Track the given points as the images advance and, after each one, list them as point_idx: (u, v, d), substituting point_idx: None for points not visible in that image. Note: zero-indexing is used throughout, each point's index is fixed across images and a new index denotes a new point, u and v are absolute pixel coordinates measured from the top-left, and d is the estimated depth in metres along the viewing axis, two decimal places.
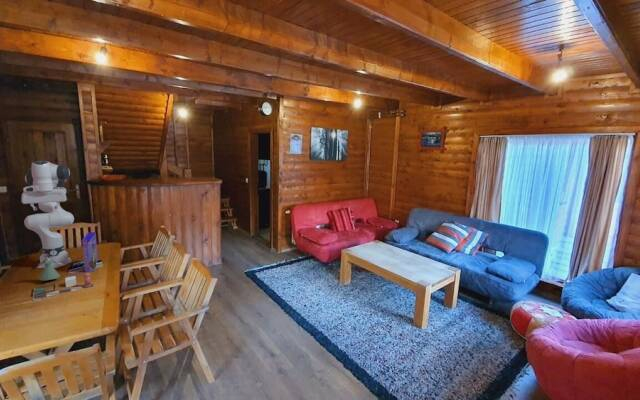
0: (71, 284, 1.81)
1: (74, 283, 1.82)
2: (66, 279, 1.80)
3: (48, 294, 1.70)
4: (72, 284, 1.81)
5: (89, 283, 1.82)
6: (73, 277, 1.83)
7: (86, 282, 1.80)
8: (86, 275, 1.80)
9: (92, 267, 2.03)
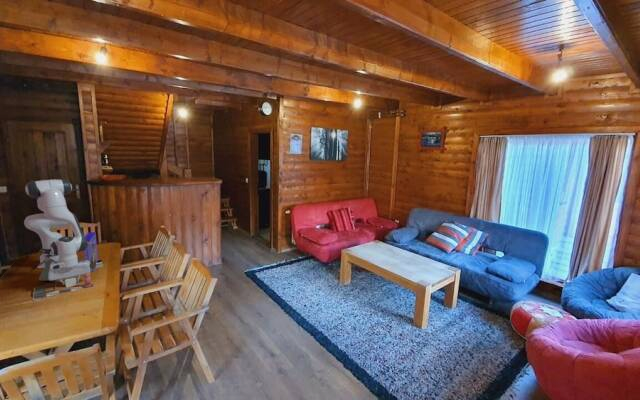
0: (71, 284, 1.81)
1: (74, 283, 1.82)
2: (66, 279, 1.80)
3: (48, 294, 1.70)
4: (72, 284, 1.81)
5: (89, 283, 1.82)
6: (73, 277, 1.83)
7: (86, 282, 1.80)
8: (86, 275, 1.80)
9: (92, 267, 2.03)
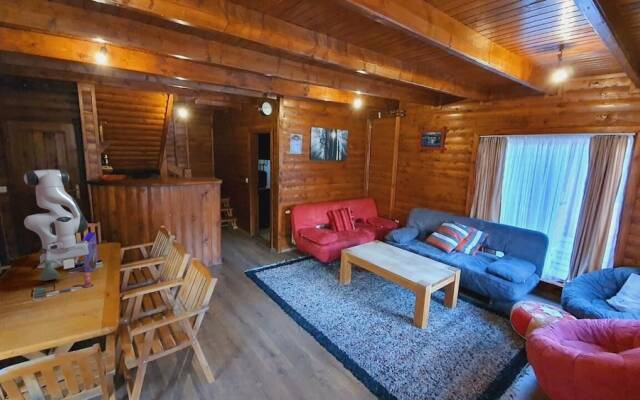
0: (69, 265, 1.79)
1: (72, 264, 1.80)
2: (64, 260, 1.78)
3: (48, 294, 1.70)
4: (70, 265, 1.79)
5: (89, 283, 1.82)
6: (71, 258, 1.81)
7: (86, 282, 1.80)
8: (86, 275, 1.80)
9: (92, 267, 2.03)
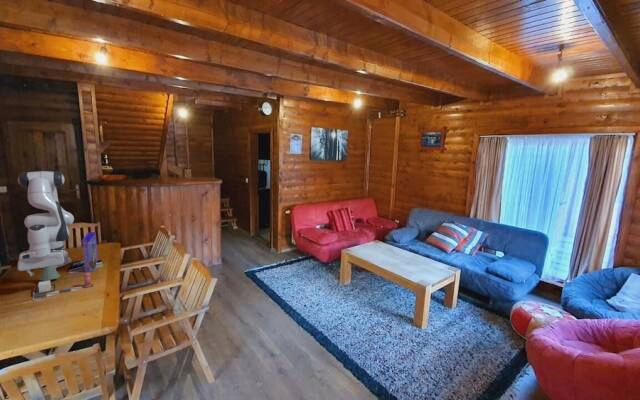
0: (45, 289, 1.73)
1: (48, 288, 1.74)
2: (39, 284, 1.72)
3: (48, 294, 1.70)
4: (46, 289, 1.73)
5: (89, 283, 1.82)
6: (47, 281, 1.75)
7: (86, 282, 1.80)
8: (86, 275, 1.80)
9: (92, 267, 2.03)
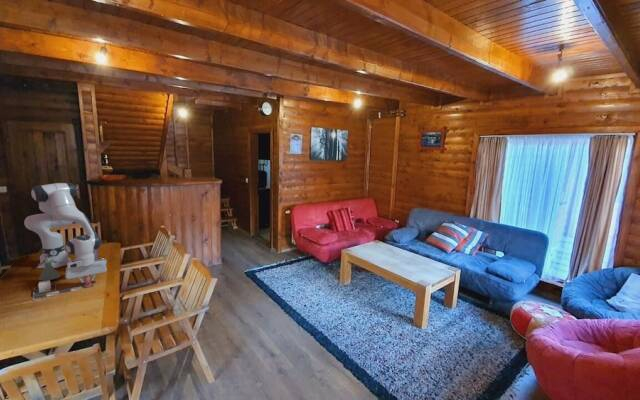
0: (45, 289, 1.73)
1: (48, 288, 1.74)
2: (39, 284, 1.72)
3: (48, 294, 1.70)
4: (46, 289, 1.73)
5: (89, 283, 1.82)
6: (47, 281, 1.75)
7: (86, 282, 1.80)
8: None
9: None
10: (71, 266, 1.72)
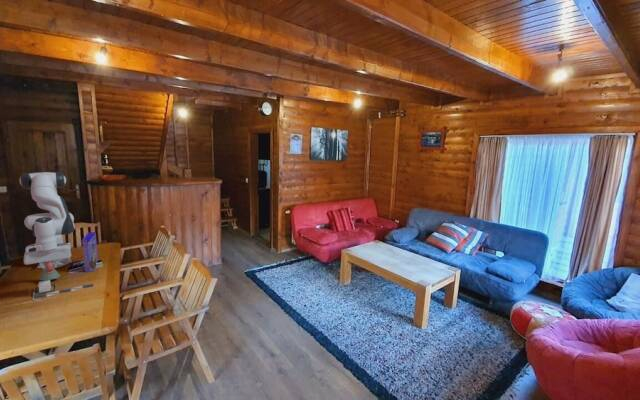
0: (45, 289, 1.73)
1: (48, 288, 1.74)
2: (39, 284, 1.72)
3: (48, 294, 1.70)
4: (46, 289, 1.73)
5: (51, 269, 1.68)
6: (47, 281, 1.75)
7: (48, 268, 1.67)
8: (48, 261, 1.66)
9: (92, 267, 2.03)
10: (30, 250, 1.59)
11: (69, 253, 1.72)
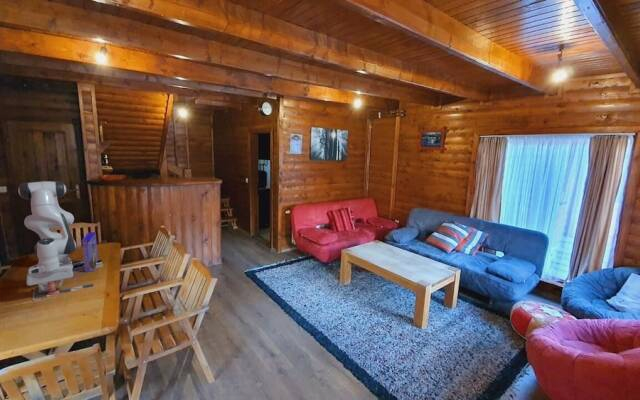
0: None
1: (48, 288, 1.74)
2: None
3: None
4: (46, 289, 1.73)
5: (54, 290, 1.71)
6: None
7: (50, 289, 1.69)
8: (50, 282, 1.69)
9: (92, 267, 2.03)
10: (32, 272, 1.62)
11: (71, 273, 1.74)
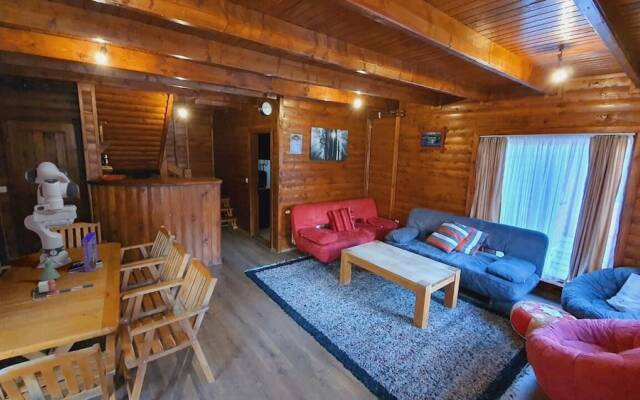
0: (45, 289, 1.73)
1: (48, 288, 1.74)
2: (39, 284, 1.72)
3: None
4: (46, 289, 1.73)
5: (54, 290, 1.71)
6: (47, 281, 1.75)
7: (50, 289, 1.69)
8: (50, 282, 1.69)
9: (92, 267, 2.03)
10: (38, 208, 1.70)
11: (74, 214, 1.83)
